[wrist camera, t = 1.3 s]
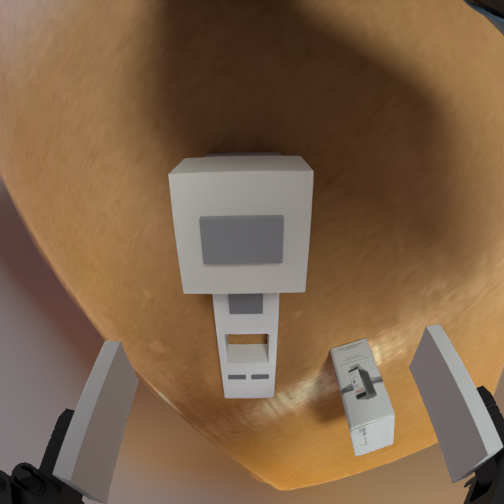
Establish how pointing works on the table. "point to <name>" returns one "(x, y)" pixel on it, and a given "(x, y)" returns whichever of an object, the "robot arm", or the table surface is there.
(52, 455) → the robot arm
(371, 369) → the ink box
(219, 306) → the socket
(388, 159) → the table surface
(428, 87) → the table surface
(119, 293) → the table surface
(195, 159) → the plug
